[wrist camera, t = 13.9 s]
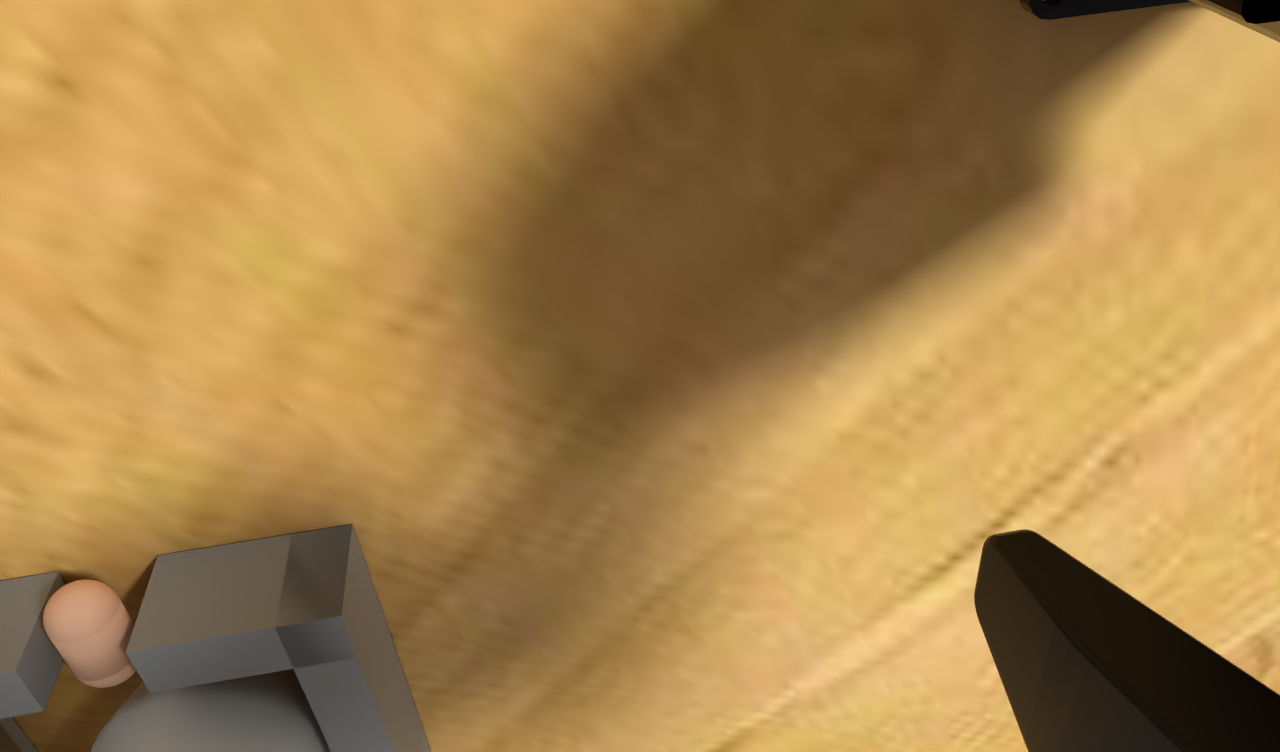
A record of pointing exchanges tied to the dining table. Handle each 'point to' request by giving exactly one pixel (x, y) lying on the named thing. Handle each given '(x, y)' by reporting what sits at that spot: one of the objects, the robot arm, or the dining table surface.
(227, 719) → the salt shaker
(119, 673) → the plunger
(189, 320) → the dining table surface
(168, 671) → the grey square frame
